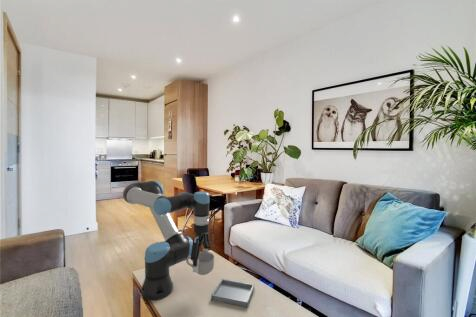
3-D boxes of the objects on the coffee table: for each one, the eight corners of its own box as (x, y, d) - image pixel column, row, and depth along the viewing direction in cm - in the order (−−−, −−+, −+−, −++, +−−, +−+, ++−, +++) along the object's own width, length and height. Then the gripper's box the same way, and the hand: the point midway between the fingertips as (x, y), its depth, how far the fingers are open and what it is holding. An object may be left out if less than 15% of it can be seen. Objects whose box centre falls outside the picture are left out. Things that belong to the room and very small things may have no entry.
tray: (211, 300, 115) (211, 295, 115) (221, 283, 130) (221, 278, 130) (247, 307, 110) (247, 302, 110) (254, 289, 125) (254, 284, 125)
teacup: (216, 267, 125) (217, 252, 124) (210, 279, 114) (210, 262, 114) (191, 264, 127) (191, 249, 127) (182, 275, 117) (183, 259, 116)
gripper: (198, 232, 107) (197, 280, 108) (216, 217, 129) (216, 256, 131) (182, 230, 109) (182, 277, 111) (204, 215, 131) (203, 254, 133)
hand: (200, 266), depth 121 cm, fingers closed on teacup, 11 cm apart
